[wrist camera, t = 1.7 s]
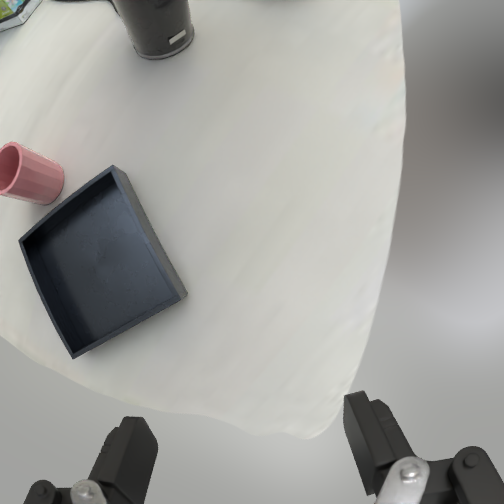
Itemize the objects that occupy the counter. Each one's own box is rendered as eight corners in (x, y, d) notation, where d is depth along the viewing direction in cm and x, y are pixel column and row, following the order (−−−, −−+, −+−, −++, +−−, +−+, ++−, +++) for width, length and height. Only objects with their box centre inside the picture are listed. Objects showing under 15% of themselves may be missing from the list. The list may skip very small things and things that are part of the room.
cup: (28, 178, 33) (-14, 163, 23) (57, 153, 33) (17, 131, 23) (39, 213, 33) (-6, 205, 23) (69, 188, 33) (26, 172, 23)
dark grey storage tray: (35, 241, 33) (18, 240, 29) (125, 173, 34) (112, 164, 29) (87, 349, 33) (72, 359, 29) (188, 293, 34) (181, 299, 30)
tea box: (46, -4, 32) (23, -37, 17) (24, 24, 32) (-5, -7, 17) (12, 8, 31) (-11, -19, 16) (-8, 35, 31) (-35, 10, 16)
